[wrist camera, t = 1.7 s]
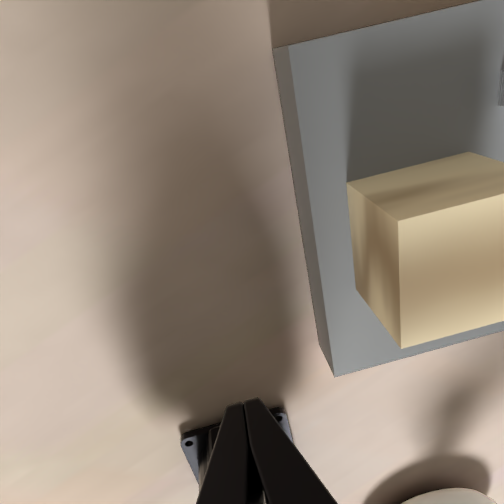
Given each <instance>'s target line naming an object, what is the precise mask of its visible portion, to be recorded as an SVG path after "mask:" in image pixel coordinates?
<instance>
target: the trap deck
mask: <svg viewBox="0 0 504 504" xmlns="http://www.w3.org/2000/svg"><path fill="white" fill-rule="evenodd" d="M272 50H273V56H274V62H275V69H276V75H277V81H278V88H279V94H280V100H281V107H282V113H283V119H284V125H285V132H286V138H287V144H288V151H289V157H290V163H291V170H292V176H293V182H294V188H295V195H296V201H297V207H298V214H299V220H300V226H301V233H302V239H303V245H304V252H305V258H306V264H307V270H308V277H309V283H310V289H311V296H312V302H313V308H314V315H315V321H316V327H317V333H318V340H319V345H320V347H321V349H322V352H323V354H324V356H325V358H326V360H327V362H328V364H329V366H330V368H331V371H332V373H333V375H334V377H338V376H341V375H345V374H349V373H352V372H356V371H359V370H363V369H367V368H370V367H374V366H378V365H381V364H385V363H388V362H392V361H396V360H399V359H403V358H406V357H410V356H414V355H417V354H421V353H425V352H428V351H432V350H435V349H439V348H443V347H446V346H450V345H453V344H457V343H461V342H464V341H468V340H471V339H475V338H479V337H482V336H486V335H490V334H493V333H497V332H500V331H504V324H503V323H502V322H497V323H494V324H490V325H487V326H483V327H479V328H476V329H472V330H468V331H465V332H461V333H458V334H454V335H450V336H447V337H443V338H439V339H436V340H432V341H429V342H425V343H421V344H418V345H414V346H410V347H407V348H403V349H401V348H400V347H399V346H398V344H397V343H396V342H395V340H394V339H393V338H392V336H391V335H390V334H389V332H388V331H387V330H386V328H385V327H384V326H383V324H382V323H381V322H380V320H379V319H378V318H377V316H376V315H375V314H374V312H373V311H372V310H371V308H370V307H369V306H368V305H367V303H366V302H365V301H364V299H363V298H362V297H361V295H360V294H359V293H358V291H357V290H356V285H355V274H354V263H353V252H352V241H351V230H350V219H349V208H348V197H347V185H346V183H347V182H351V181H355V180H359V179H363V178H367V177H371V176H374V175H378V174H382V173H386V172H390V171H394V170H398V169H402V168H406V167H410V166H414V165H418V164H422V163H426V162H430V161H434V160H438V159H442V158H446V157H450V156H454V155H457V154H461V153H465V152H472V153H475V154H478V155H482V156H485V157H488V158H491V159H494V160H498V161H501V162H504V106H497V99H498V89H499V79H500V70H504V0H478V1H474V2H470V3H465V4H461V5H457V6H453V7H448V8H444V9H440V10H436V11H431V12H427V13H423V14H419V15H414V16H410V17H406V18H402V19H397V20H393V21H389V22H384V23H380V24H376V25H372V26H367V27H363V28H359V29H355V30H350V31H346V32H342V33H338V34H333V35H329V36H325V37H321V38H316V39H312V40H308V41H303V42H299V43H295V44H291V45H286V46H282V47H278V48H274V49H272Z"/></svg>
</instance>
